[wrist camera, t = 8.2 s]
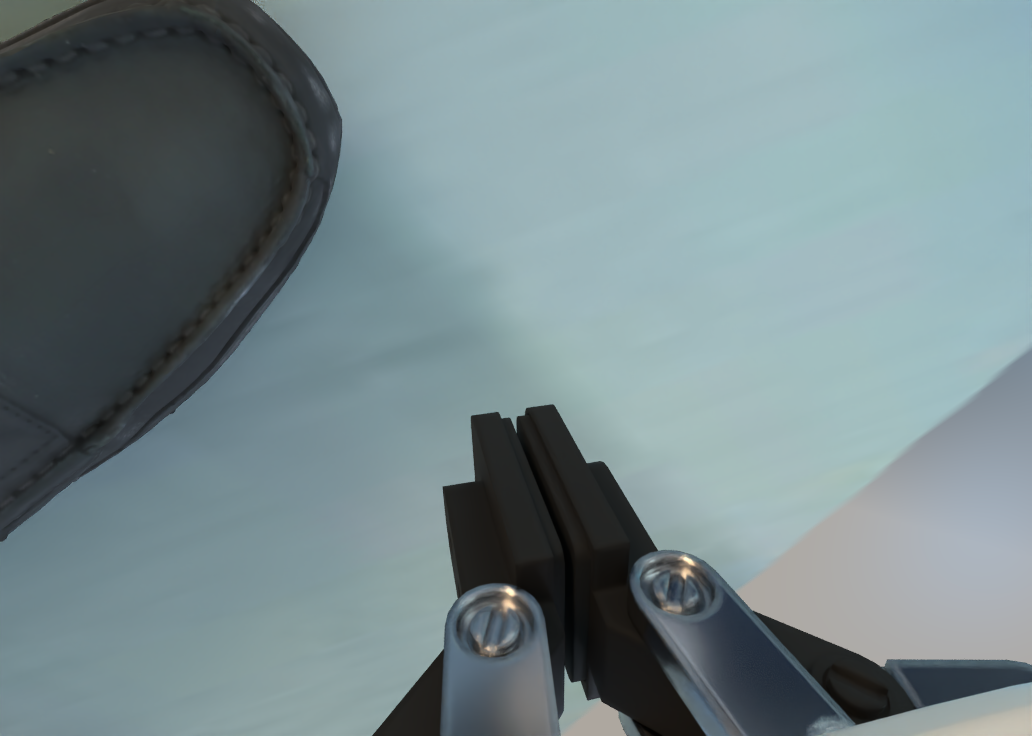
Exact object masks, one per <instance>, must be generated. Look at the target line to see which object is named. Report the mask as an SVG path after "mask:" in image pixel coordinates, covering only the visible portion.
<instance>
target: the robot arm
mask: <svg viewBox="0 0 1032 736" xmlns="http://www.w3.org/2000/svg"><path fill="white" fill-rule="evenodd" d="M471 429H472V443H473V456H474V470H475V482H469V483H462V484H456V485H450V486H444V487H443V496H444V506H445V515H446V524H447V532H448V539H449V547H450V553H451V560H452V566H453V572H454V578H455V584H456V590H457V596H458V599H457V600H456V601H455V603H454V604H453V606H452V607H451V609H450V611H449V612H448V615H447V620H446V624H445V637H444V649H443V651H442V652H441V653H440V654H439V655H438V657H437V658H436V659H435V660H434V661H433V663H432V664H431V665H430V666H429V668H428V669H427V670H426V671H425V672H424V674H423V675H422V676H421V677H420V678H419V680H418V681H417V682H416V683H415V685H414V686H413V687H412V688H411V689H410V691H409V692H408V693H407V694H406V695H405V697H404V698H403V699H402V700H401V702H400V703H399V704H398V705H397V706H396V708H395V709H394V710H393V711H392V712H391V714H390V715H389V716H388V717H387V718H386V720H385V721H384V722H383V723H382V725H381V726H380V727H379V728H378V729H377V731H376V732H375V733H374V734H373V735H372V736H561V734H560V727H559V718H560V717H561V715H562V713H563V711H564V668H566V671H567V674H568V677H569V679H570V681H571V682H577V681H581V683H582V686H583V689H584V692H585V695H586V698H587V700H591V699H596V698H601V701H602V702H603V703H605V704H607V705H609V706H610V707H612V708H614V709H616V710H618V712H619V719H620V722H621V724H622V727H623V730H624V731H625V733H626V735H627V736H1032V665H1030V664H1027V663H1023V662H1017V661H1010V660H887V662H886V664H885V667H880V666H879V665H877V664H876V663H874V662H872V661H870V660H869V659H867V658H865V657H863V656H861V655H859V654H856V653H854V652H851V651H849V650H847V649H844V648H842V647H840V646H837V645H835V644H832V643H830V642H827V641H825V640H823V639H820V638H818V637H815V636H813V635H811V634H808V633H806V632H803V631H801V630H798V629H796V628H793V627H791V626H789V625H786V624H784V623H781V622H779V621H777V620H774V619H772V618H769V617H767V616H764V615H762V614H760V613H757V612H755V611H752V610H751V609H750V608H749V607H748V606H747V604H746V603H745V602H744V601H743V600H742V599H741V598H740V597H739V596H738V595H737V593H736V592H735V591H734V590H733V589H732V588H731V587H730V586H729V585H728V584H727V583H726V581H725V580H724V579H723V578H722V577H721V576H720V575H719V574H718V573H717V572H716V570H714V569H713V568H712V567H711V566H710V565H708V564H707V563H706V562H705V561H703V560H701V559H699V558H697V557H695V556H694V555H691V554H688V553H684V552H681V551H674V550H661V551H658V550H657V548H656V547H655V545H654V543H653V542H652V540H651V538H650V537H649V535H648V533H647V532H646V530H645V528H644V527H643V525H642V523H641V522H640V520H639V518H638V517H637V515H636V513H635V512H634V510H633V508H632V507H631V505H630V503H629V502H628V500H627V498H626V497H625V495H624V493H623V492H622V490H621V488H620V487H619V485H618V483H617V482H616V480H615V479H614V477H613V475H612V474H611V472H610V470H609V469H608V467H607V466H606V464H605V463H604V462H601V461H599V462H593V463H586V461H585V460H584V458H583V456H582V454H581V452H580V450H579V449H578V447H577V445H576V443H575V441H574V440H573V438H572V436H571V434H570V432H569V431H568V429H567V427H566V425H565V423H564V422H563V420H562V418H561V416H560V414H559V413H558V411H557V409H556V407H555V406H554V405H544V406H537V407H530V408H526V411H525V415H524V416H518V417H517V433H516V431H515V428H514V426H513V424H512V421H511V419H510V418H503V419H501V416H500V414H499V412H494V413H487V414H480V415H473V416H471Z"/></svg>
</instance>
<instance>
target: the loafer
mask: <svg viewBox="0 0 1032 736" xmlns="http://www.w3.org/2000/svg"><path fill="white" fill-rule="evenodd" d="M341 138H342V119H341V117H340V114H339V112H338V108H337V104H336V102H335V100H334V98H333V96H332V94H331V92H330V90H329V89H328V87H327V85H326V83H325V81H324V79H323V77H322V75H321V74H320V73H319V71H318V70H317V68H316V67H315V66H314V64H313V63H312V61H311V60H310V59H309V57H308V56H307V55H306V54H305V53H304V52H303V51H302V49H301V48H300V47H299V46H298V45H297V44H296V43H295V42H294V41H293V40H292V38H291V37H290V36H289V35H288V34H287V33H286V32H285V31H284V30H283V29H282V28H281V27H280V26H279V25H278V24H277V23H276V22H275V21H274V20H273V19H272V18H270V17H269V16H268V15H267V14H266V13H265V12H264V11H263V10H262V9H261V8H260V7H259V6H257V5H256V4H254V3H253V2H252V1H250V0H88V1H86V2H84V3H81V4H79V5H77V6H75V7H73V8H71V9H69V10H66V11H64V12H62V13H60V14H57V15H55V16H53V17H52V18H51V19H46V20H44V21H43V22H41V23H39V24H38V25H36V26H34V27H32V28H30V29H28V30H27V31H25V32H23V33H21V34H19V35H17V36H15V37H13V38H11V39H9V40H6V41H4V42H1V43H0V542H1V541H4V540H5V539H6V538H7V536H8V534H10V533H11V532H12V531H13V530H14V529H16V528H17V527H18V526H19V525H21V524H22V523H23V522H24V521H26V520H27V519H28V518H30V517H31V516H32V515H34V514H35V513H36V512H37V511H39V510H40V509H41V508H42V507H43V506H44V505H46V504H47V503H48V502H49V501H50V500H51V499H52V498H53V497H54V496H55V495H57V494H58V493H59V492H61V491H62V490H63V489H65V488H66V487H67V486H69V485H70V484H71V483H72V482H75V481H77V480H78V479H79V478H80V477H82V476H83V475H85V474H87V473H88V472H90V471H92V470H93V469H95V468H97V467H98V466H99V465H101V464H102V463H104V462H105V461H107V460H108V459H110V458H112V457H113V456H115V455H116V454H118V453H120V452H121V451H122V450H124V449H125V448H126V447H128V446H129V445H131V444H132V443H134V442H135V441H137V440H138V439H139V438H141V437H142V436H143V435H144V434H146V433H147V432H148V431H150V430H151V429H152V428H153V427H154V426H156V425H157V424H158V423H159V422H160V421H161V420H162V419H164V418H165V417H166V416H168V415H169V414H172V413H174V412H175V409H176V408H177V407H178V406H179V405H181V404H182V403H183V402H184V401H186V400H187V399H188V398H189V397H190V396H191V395H192V394H193V393H194V392H195V391H196V390H198V389H199V388H200V387H201V386H202V385H203V384H205V383H206V382H207V381H208V380H209V379H210V377H211V376H212V375H213V374H214V373H215V372H216V371H217V370H218V369H219V368H220V367H221V365H222V364H223V363H224V362H225V361H226V360H227V359H228V357H229V356H230V355H231V354H232V353H233V352H234V351H235V350H236V348H237V347H238V346H239V344H240V342H241V341H242V340H243V339H244V338H245V336H246V335H247V334H248V333H249V332H250V330H251V328H252V327H253V326H254V324H255V323H256V322H257V321H258V319H259V318H260V316H261V315H262V314H263V312H264V311H265V310H266V309H267V307H268V306H269V305H270V303H271V302H272V301H273V299H274V298H275V296H276V295H277V294H278V293H279V292H280V290H281V288H282V287H283V286H284V284H285V283H286V281H287V280H288V278H289V276H290V275H291V274H292V273H293V271H294V270H295V269H296V267H297V266H298V264H299V261H300V259H301V257H302V256H303V254H304V253H305V251H306V250H307V247H308V246H309V244H310V243H311V241H312V239H313V236H314V235H315V233H316V231H317V229H318V227H319V225H320V223H321V220H322V218H323V214H324V211H325V208H326V205H327V202H328V200H329V197H330V194H331V192H332V189H333V185H334V181H335V177H336V173H337V167H338V161H339V156H340V147H341Z"/></svg>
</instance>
